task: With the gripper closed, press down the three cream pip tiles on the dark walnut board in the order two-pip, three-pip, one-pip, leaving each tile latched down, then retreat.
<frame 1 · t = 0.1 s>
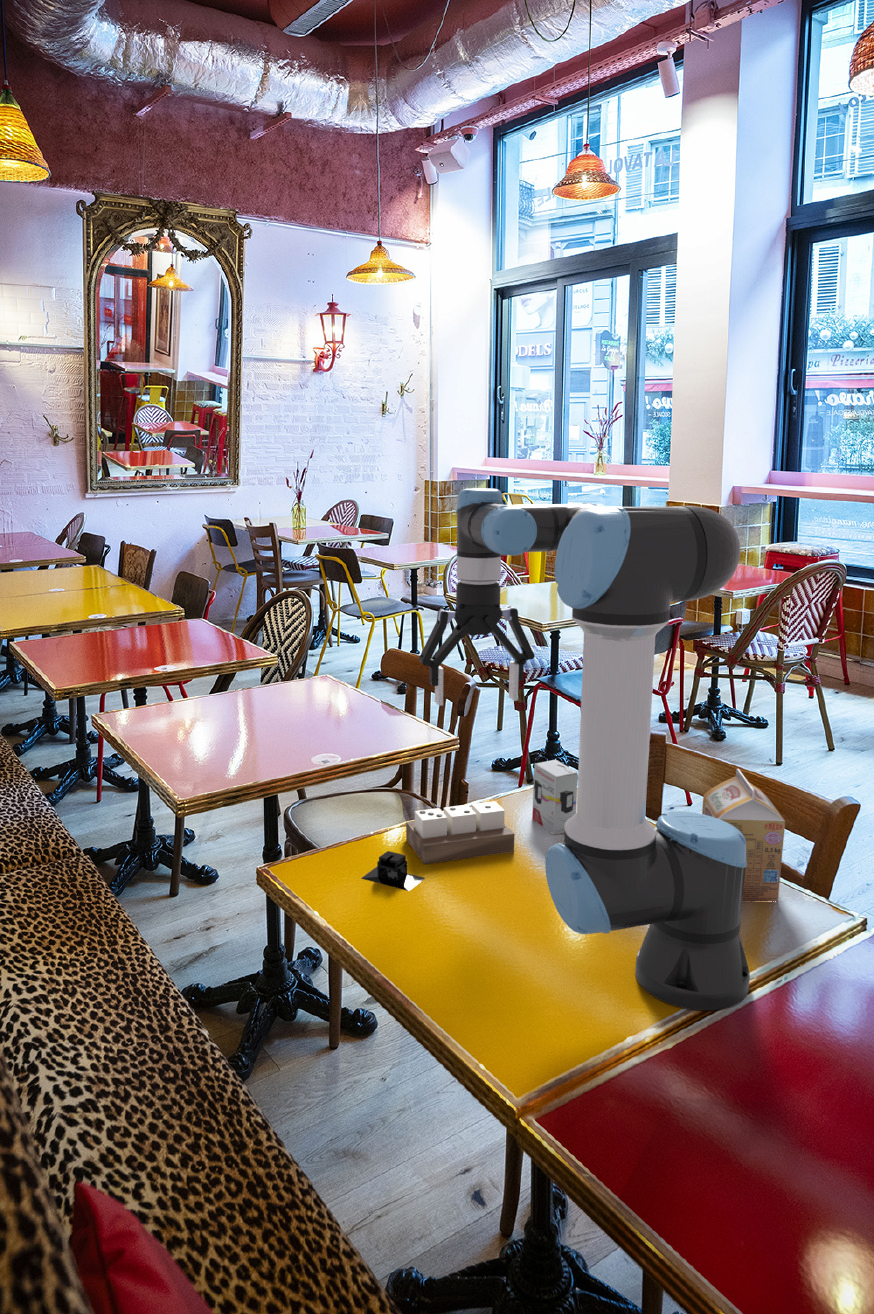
hand: (476, 701, 167), 28 cm above the table, fingers open, 13 cm apart
tile three: (430, 825, 171), point 5 cm above the table, slide at 0.0 cm
tile two: (459, 822, 173), point 5 cm above the table, slide at 0.0 cm
board: (459, 845, 174), on the table
milk carton: (736, 888, 159), on the table
coffee cup: (609, 860, 169), on the table
ink box: (553, 826, 184), on the table
tile one: (487, 818, 175), point 5 cm above the table, slide at 0.0 cm
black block: (392, 882, 161), on the table
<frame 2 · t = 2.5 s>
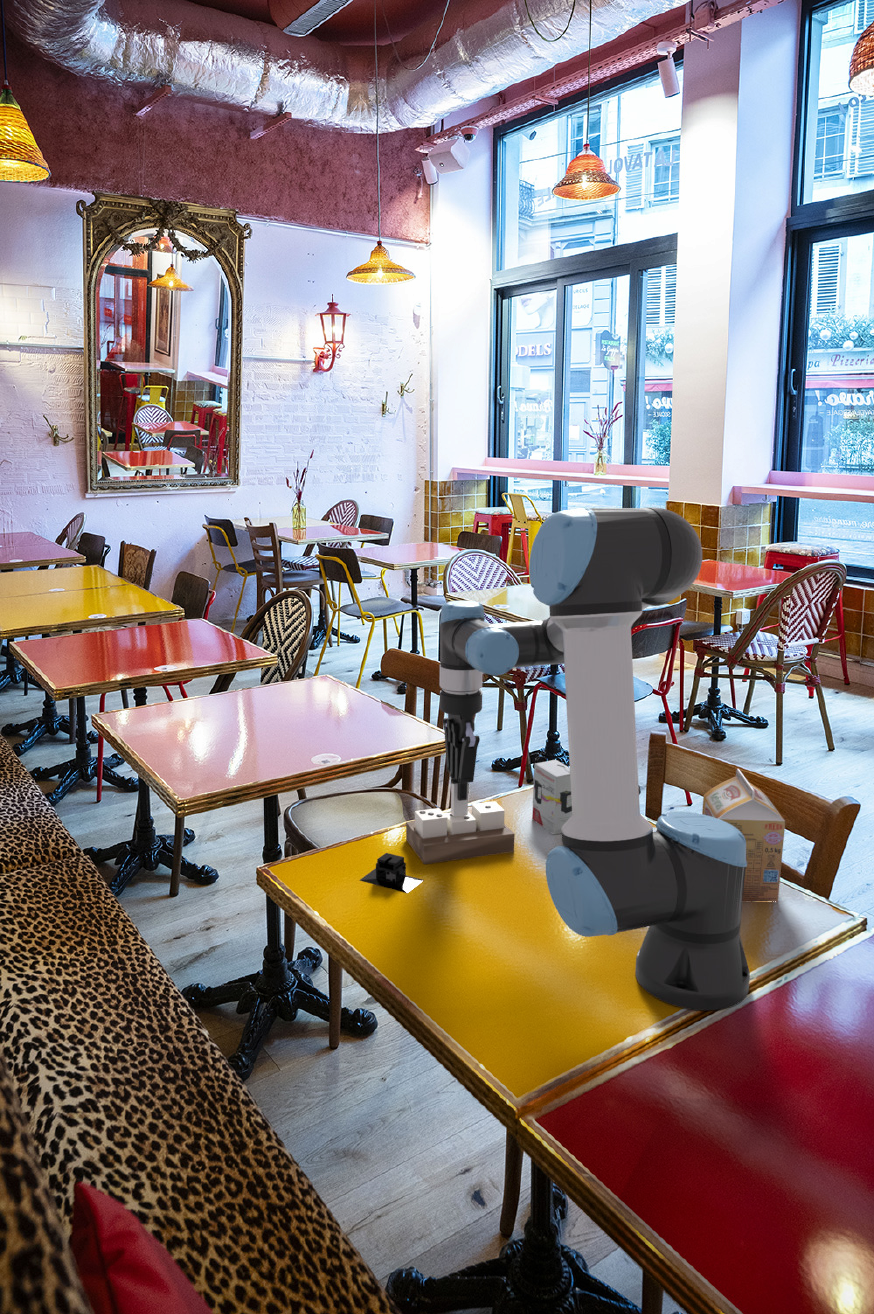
hand: (459, 814, 173), 6 cm above the table, fingers closed
tile two: (459, 827, 173), point 3 cm above the table, slide at 1.1 cm, touching gripper
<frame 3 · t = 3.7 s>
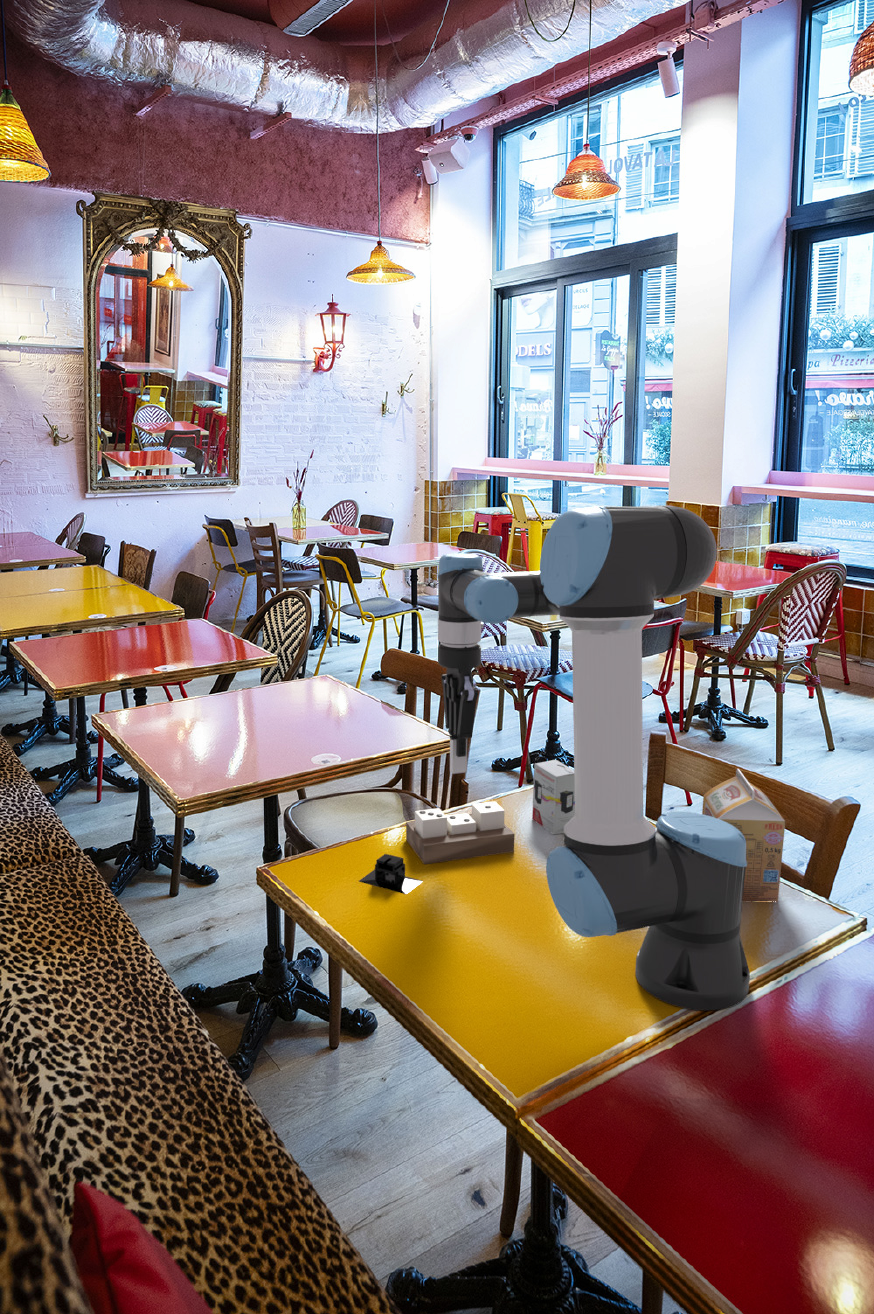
hand: (458, 771, 171), 14 cm above the table, fingers closed
tile two: (459, 830, 173), point 3 cm above the table, slide at 1.6 cm
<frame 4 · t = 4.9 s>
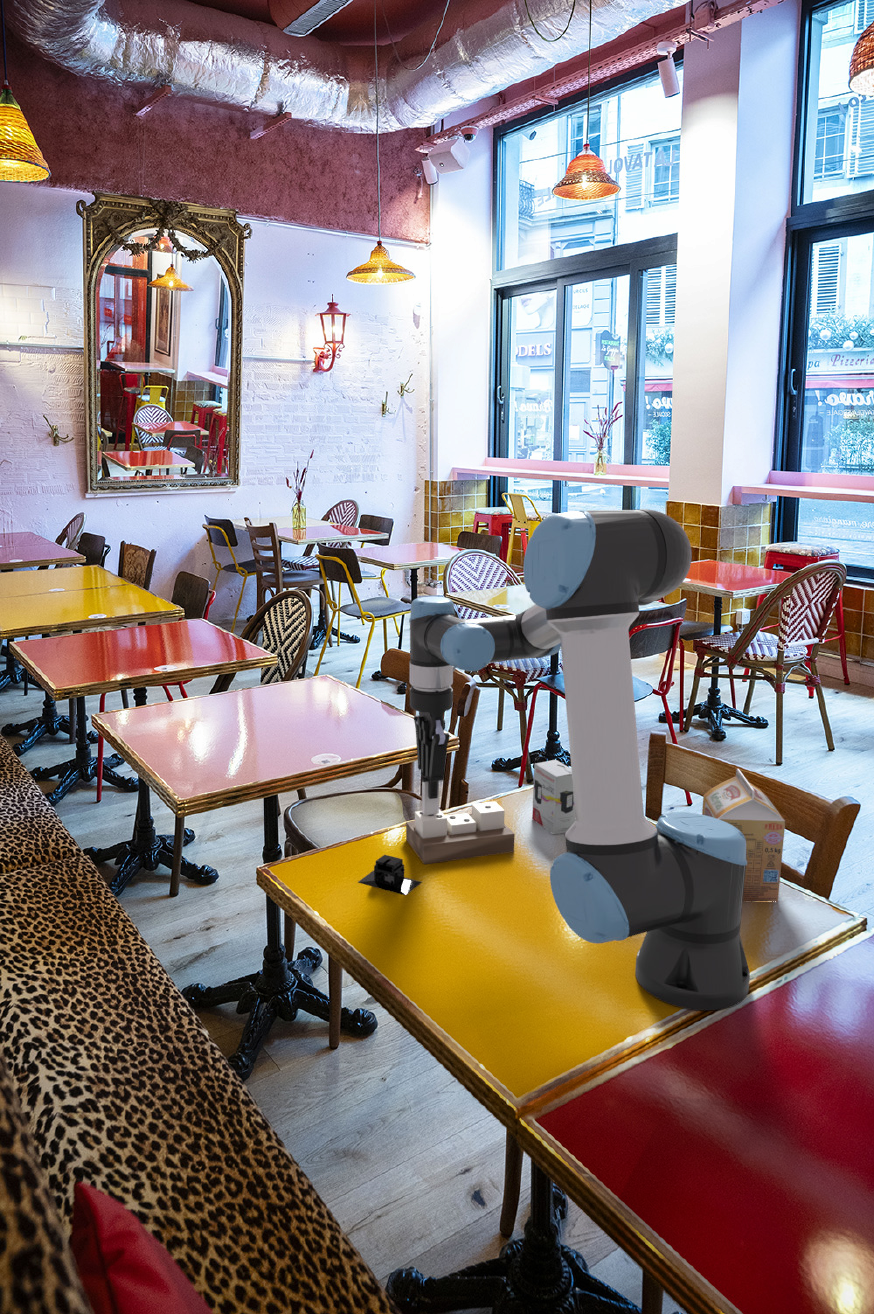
hand: (430, 812, 171), 7 cm above the table, fingers closed
tile three: (430, 826, 171), point 4 cm above the table, slide at 0.2 cm, touching gripper
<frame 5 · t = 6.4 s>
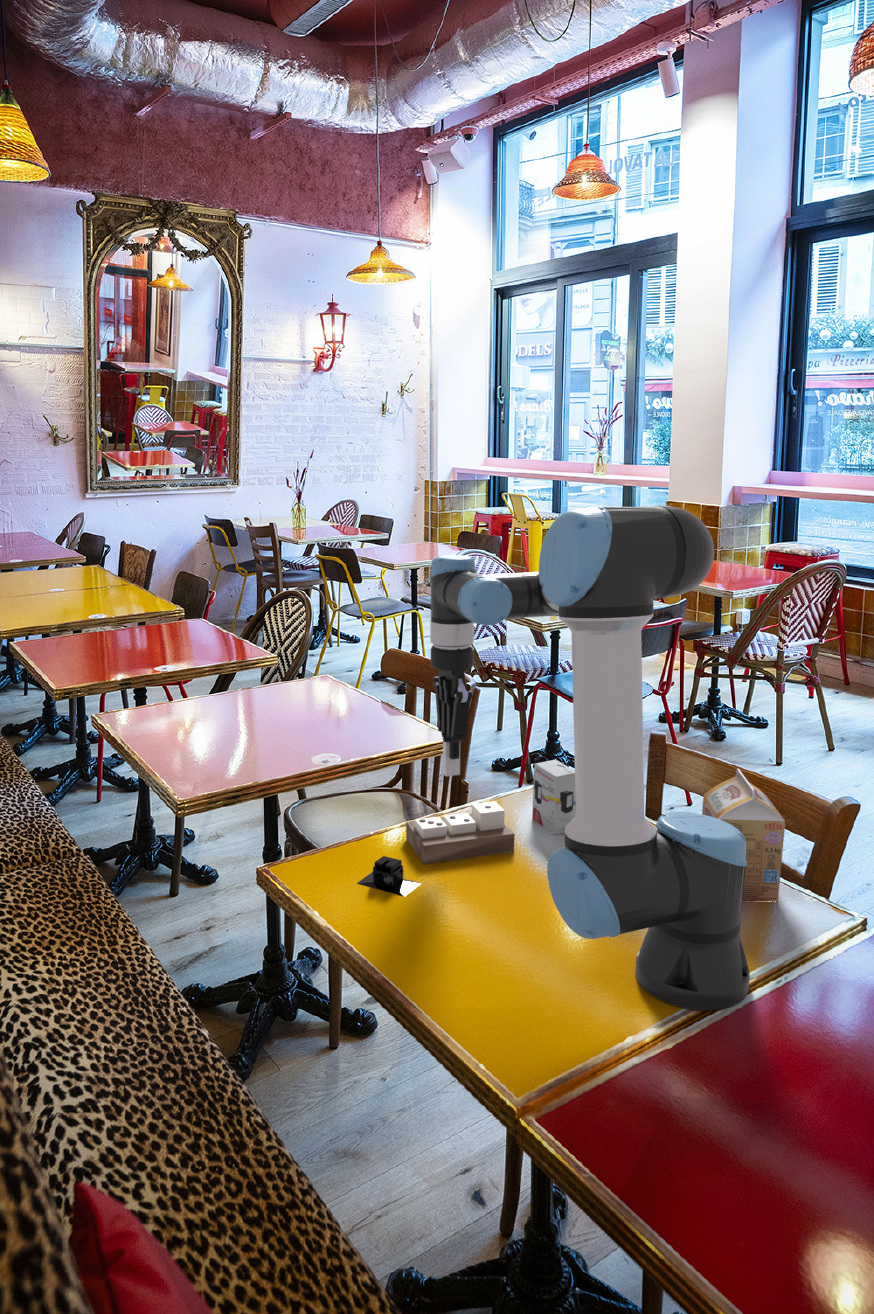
hand: (451, 774, 170), 14 cm above the table, fingers closed
tile three: (430, 834, 172), point 3 cm above the table, slide at 1.6 cm
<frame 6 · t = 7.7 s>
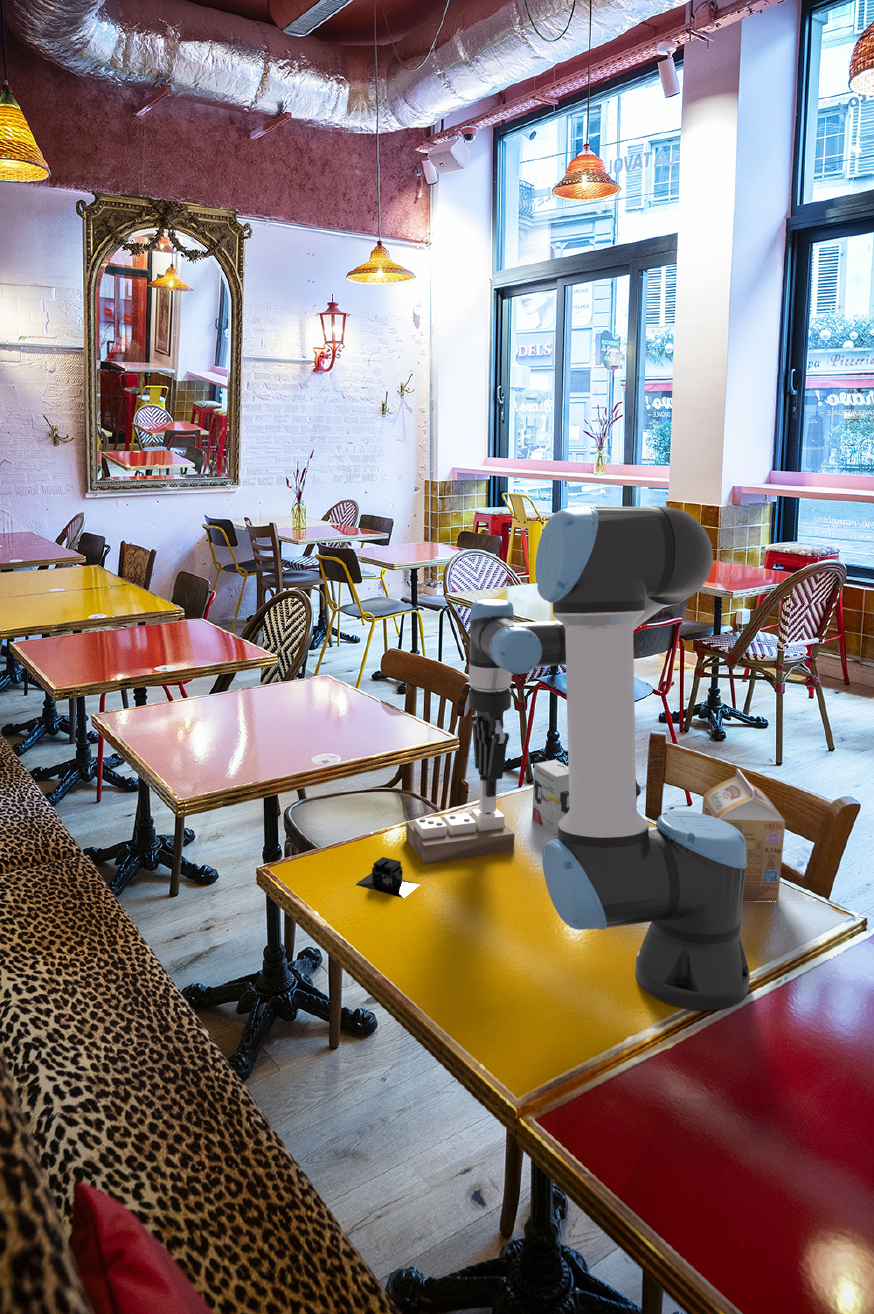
hand: (487, 810, 175), 6 cm above the table, fingers closed
tile one: (487, 824, 175), point 3 cm above the table, slide at 1.1 cm, touching gripper
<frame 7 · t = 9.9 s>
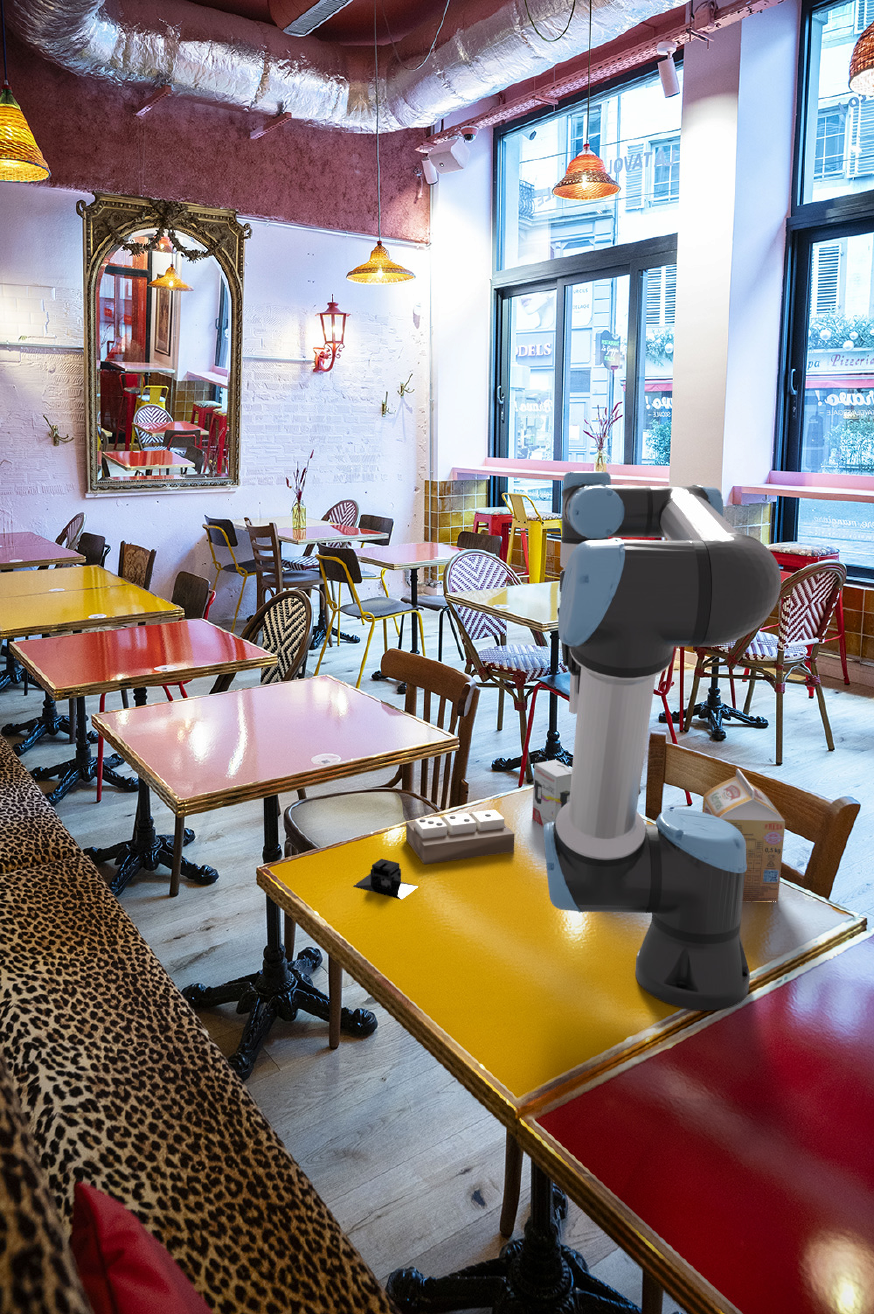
hand: (578, 711, 157), 29 cm above the table, fingers closed
tile one: (487, 826, 175), point 3 cm above the table, slide at 1.6 cm
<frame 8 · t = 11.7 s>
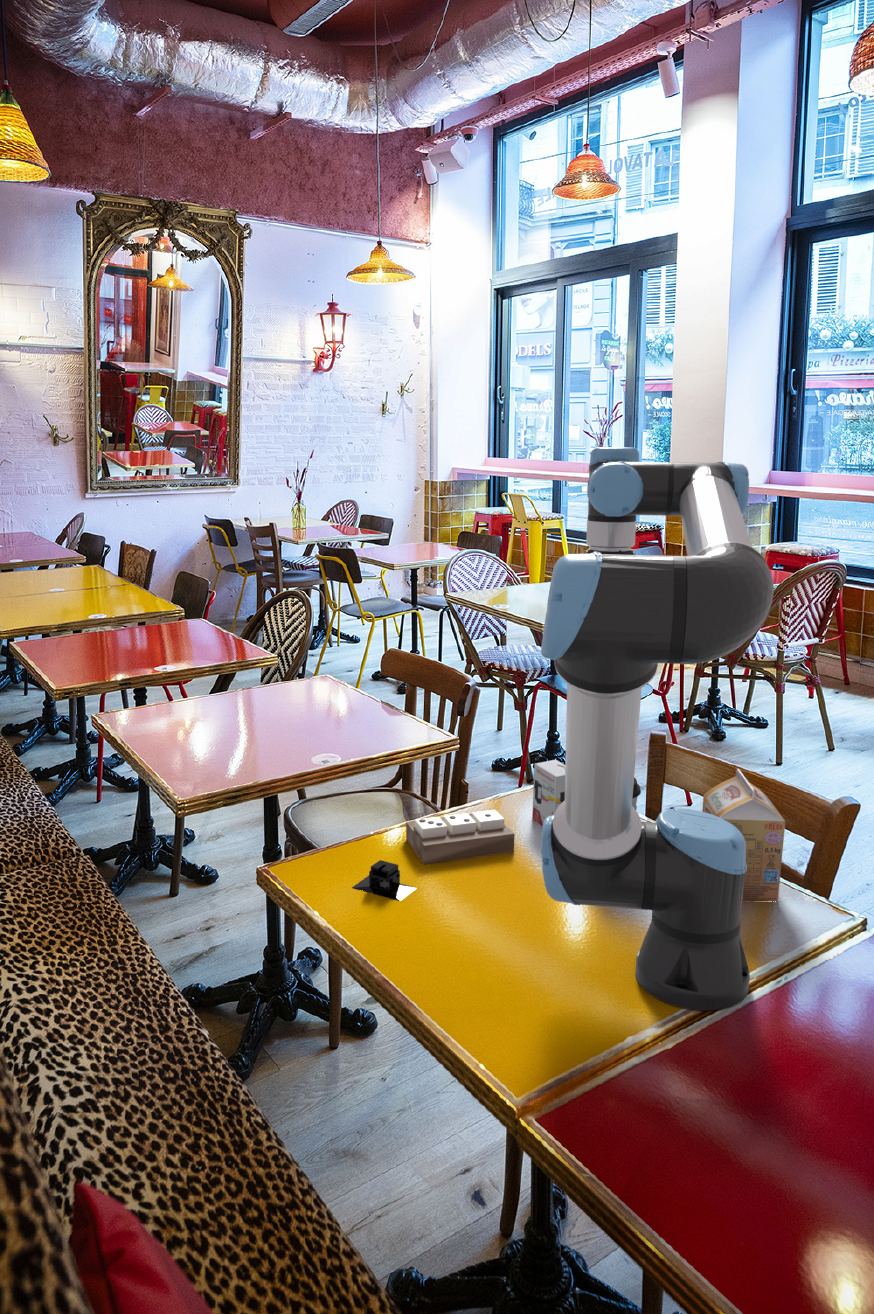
hand: (603, 693, 154), 32 cm above the table, fingers closed
at the end: tile two slide at 1.6 cm; tile three slide at 1.6 cm; tile one slide at 1.6 cm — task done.
